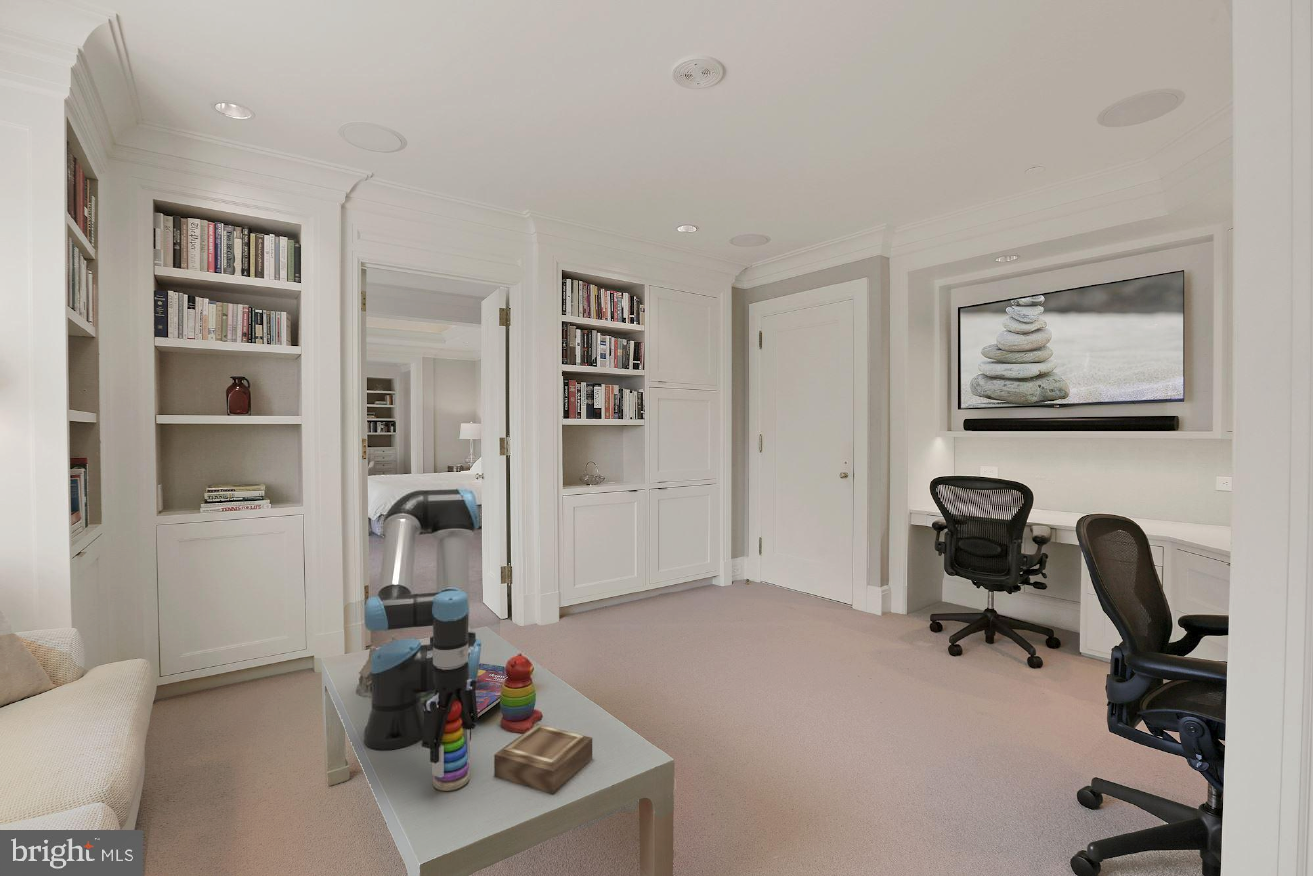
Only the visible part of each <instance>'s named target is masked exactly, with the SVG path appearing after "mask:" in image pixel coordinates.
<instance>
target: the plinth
mask: <svg viewBox="0 0 1313 876" xmlns="http://www.w3.org/2000/svg"><path fill="white" fill-rule="evenodd" d="M493 757H494V760H493V761H494V762H493V764H494V765H493V766H494V767H493V768H494V774H493V776H494V777H496V778H499V779H501V780H505V781H508V782H511V783H516V784H518V785H521V786H525V787H528V788H531V789H535V790H537V791H541V792H544V793H548V794H551V795H554V794H555V793H557V792H558V791H559V790H560V789H561V788H563V786H564V785H565V784H566V783H567V782H568V781H570V780H571V779H572V778H573V777H574V776H575V775H577V774H578V773H579V772H580V770H582V769H583V768H584V767H585V766H586V765H587V764H588V763H590V762H591V761H592V759H593V737H591V736H586V735H582V734H578V733H575V732H572V731H571V732H570V731H567V730H562V729H559V728H555V727H551V726H546V725H543V724H540V723H537V724H535V725H533V727H532V728H531V729H529V730H528V731H527V732H525V733H521V735H519V736H518V737H517V738H515V739H513V740H512V741H511V742H509V743H508V744H507V745H506V746H504V747H503V748H501V749H500V750H498V751H497V752H496V753H494V755H493Z"/></svg>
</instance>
